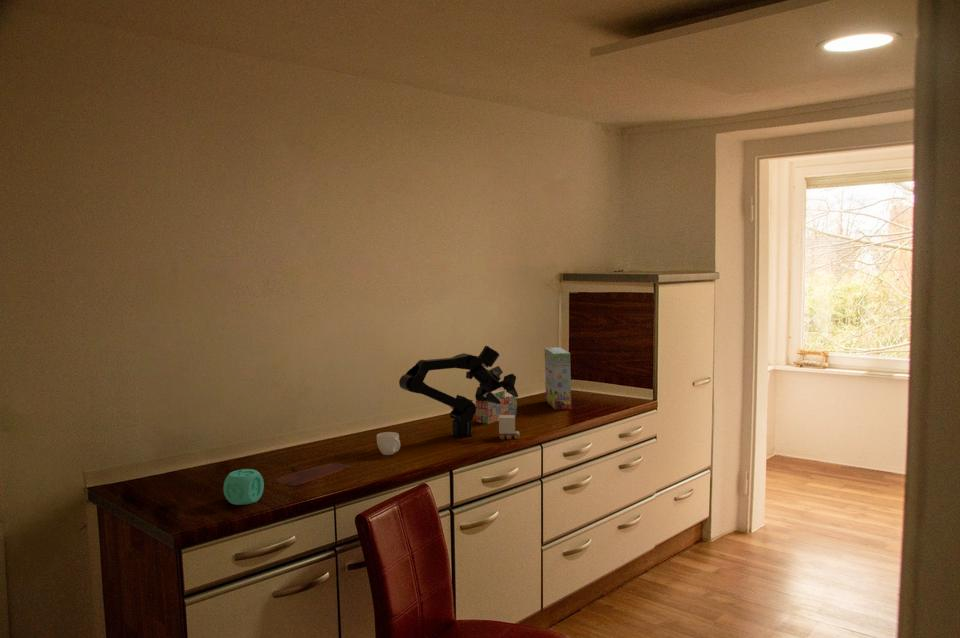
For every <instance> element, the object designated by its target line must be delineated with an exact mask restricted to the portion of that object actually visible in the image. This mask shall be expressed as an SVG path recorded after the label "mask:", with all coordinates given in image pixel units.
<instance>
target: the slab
mask: <svg viewBox="0 0 960 638" xmlns="http://www.w3.org/2000/svg"><path fill="white" fill-rule="evenodd" d="M515 431H516V415H499V421H498V433H499V435H500V434H505V435H506V434H513V435H514V434H515Z"/></svg>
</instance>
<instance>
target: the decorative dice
mask: <svg viewBox="0 0 960 638" xmlns="http://www.w3.org/2000/svg"><path fill="white" fill-rule="evenodd" d="M264 481H265V480H264V478H263V475H261V473H260V472H259V471H258V470H256V469H252V468H242V469H237V470H234V471H231V472H229V473H228V475H227V476H226V477H225V479H224V483H223V489H222V490H223V494H224V497H225V499H226V500H227V501H228V503H230V504H231V505H235V506H244V505H250V504H254V503H256V502H258V501H259V500H260V499H261V497H262V495H263V493H264V488H265V483H264Z"/></svg>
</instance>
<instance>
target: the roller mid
mask: <svg viewBox="0 0 960 638" xmlns="http://www.w3.org/2000/svg"><path fill="white" fill-rule="evenodd" d="M505 438H506V439H507V440H511V439H512V434H505Z"/></svg>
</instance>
